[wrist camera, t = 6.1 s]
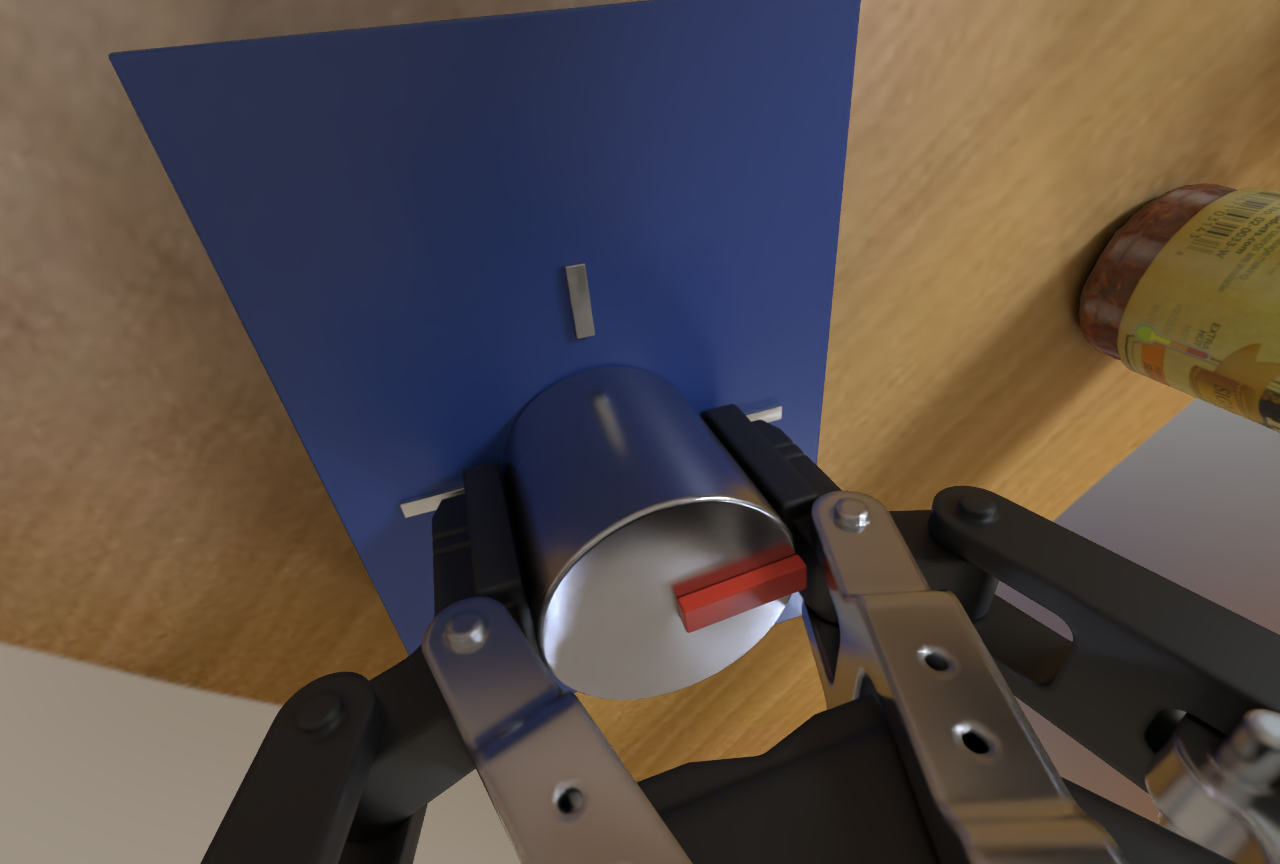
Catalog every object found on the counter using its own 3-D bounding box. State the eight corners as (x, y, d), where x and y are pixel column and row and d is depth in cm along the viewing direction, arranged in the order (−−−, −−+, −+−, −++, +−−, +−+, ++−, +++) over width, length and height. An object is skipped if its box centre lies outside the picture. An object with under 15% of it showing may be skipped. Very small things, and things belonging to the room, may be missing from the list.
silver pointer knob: (532, 557, 14) (576, 751, 10) (473, 401, 11) (501, 578, 7) (704, 499, 15) (809, 657, 11) (685, 339, 12) (811, 470, 8)
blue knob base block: (200, 55, 11) (98, 52, 7) (752, 0, 13) (870, -23, 10) (444, 625, 20) (449, 741, 16) (746, 533, 22) (805, 619, 18)
